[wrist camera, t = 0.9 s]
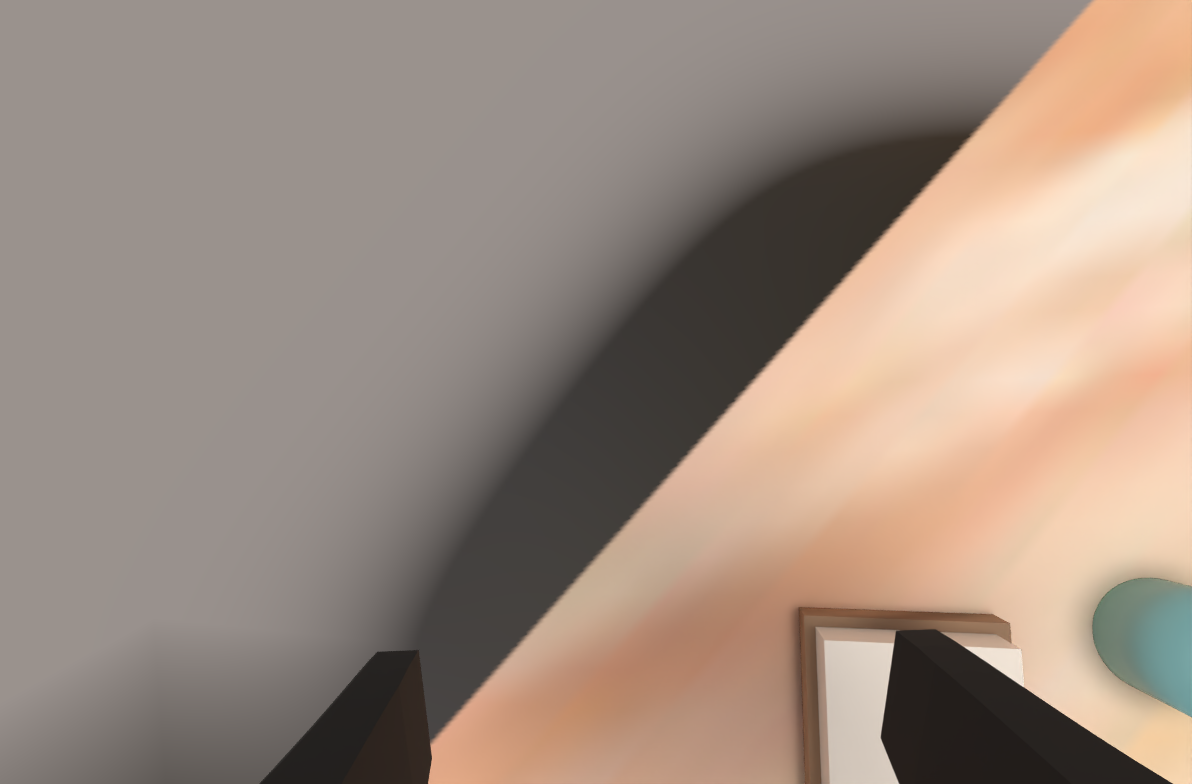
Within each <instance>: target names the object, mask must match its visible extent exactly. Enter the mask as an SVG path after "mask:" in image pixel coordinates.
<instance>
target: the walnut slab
mask: <svg viewBox="0 0 1192 784" xmlns="http://www.w3.org/2000/svg"><path fill="white" fill-rule="evenodd" d="M799 621H800V649H801V678H802V706H803V735H804V763H805V784H821V760H820V734H819V708H818V681H817V655H816V628H815V627H833V628H857V629H881V630H924V629H936V630H938V631H940V632H953V633H977V634H996V635H998V636H1000V637H1001V638H1003V639H1005V640H1006V641H1008V642H1010V643H1011V630H1010V623H1008V622H1006V621H1004V620H1002V619H1000V618H999V617H997V616H995V615H993V614H965V613H938V612H911V611H884V610H857V609H830V608H803V607H799Z"/></svg>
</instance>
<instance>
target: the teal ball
mask: <svg viewBox="0 0 1192 784" xmlns="http://www.w3.org/2000/svg"><path fill="white" fill-rule="evenodd" d="M1092 626H1093V638H1094V643H1095V646H1096V649H1097V651H1098V653H1099V655H1100V657H1101V659H1102V660H1103V662H1104V663H1105V664H1106V666H1107V667H1108V668H1109V669H1110V670H1111V671H1112V672H1113V673H1114V674H1115V675H1116V676H1117V677H1118V678H1120V679H1121V680H1122V681H1124V682H1126V683H1127V684H1129V685H1131V686H1133V687H1135V688H1136V689H1138V690H1140V691H1142V692H1144V693H1146V694H1148V695H1150V696H1152V697H1154V698H1156V699H1158V700H1160V701H1161V702H1163V703H1165V704H1167V705H1169V706H1171V707H1173V708H1175V709H1177V710H1179V711H1181V712H1183V713H1185V714H1186V715H1188V716H1190V717H1192V587H1191V586H1187V585H1183V584H1179V583H1175V582H1171V581H1167V580H1162V579H1157V578H1139V579H1133V580H1130V581H1126V582H1124V583H1122V584H1119V585H1118V586H1116V587H1114V588H1113V589H1112V590H1110V591H1109V592H1108V593H1107V594H1106V595H1105V596H1104V597H1103V598H1102V600H1101V601H1100V603H1099V604H1098V607H1097V609H1096V611H1095V614H1094V618H1093V625H1092Z"/></svg>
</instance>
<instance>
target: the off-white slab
mask: <svg viewBox="0 0 1192 784" xmlns="http://www.w3.org/2000/svg"><path fill="white" fill-rule="evenodd" d="M815 628H816V655H817V681H818V708H819V734H820V760H821V784H899V782H898V780H897V778H896V775H895V773H894V770H893V768H892V765H891V763H890V760H889V758H888V755H887V753H886V750H885V748H884V745H883V743H882V740H881V738H880V737H881V730H882V723H883V716H884V710H885V703H886V696H887V689H888V682H889V675H890V668H891V661H892V654H893V647H894V641H895V634H896V631H900V630H881V629H857V628H833V627H815ZM941 633H943V634H944V635H946V636H948V637H949V638H951V639H953V640H954V641H956V642H957V643H959V644H960V645H962V646H963V647H965V648H966V649H968V650H969V651H971V652H972V653H974V654H975V655H977V656H978V657H980V658H981V659H983V660H984V661H986V662H987V663H989V664H990V665H992V666H993V667H995V668H996V669H997V670H999V671H1000V672H1002V673H1003V674H1005V675H1006V676H1008V677H1009V678H1011V679H1012V680H1014V681H1015V682H1017V683H1018V684H1020V685H1021V686H1022V687H1024V679H1023V666H1022V652H1021V649H1020V648H1018V647H1017V646H1015V645H1013V644H1012V643H1010V642H1008V641H1006V640H1005V639H1003V638H1001V637H1000V636H998V635H996V634H977V633H953V632H941Z"/></svg>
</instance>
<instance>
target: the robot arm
mask: <svg viewBox="0 0 1192 784" xmlns="http://www.w3.org/2000/svg"><path fill="white" fill-rule="evenodd" d="M880 738H881V740H882V743H883V745H884V748H885V750H886V753H887V755H888V758H889V760H890V763H891V765H892V768H893V770H894V773H895V775H896V778H897V780H898V782H899V784H1172V783H1171V782H1169V781H1168V780H1166V779H1164V778H1163V777H1161V776H1159V775H1158V774H1156V773H1154V772H1153V771H1151V770H1150V769H1148V768H1146V767H1145V766H1143V765H1141V764H1140V763H1138V762H1137V761H1135V760H1133V759H1132V758H1130V757H1129V756H1127V755H1125V754H1124V753H1122V752H1121V751H1119V750H1118V749H1116V748H1114V747H1113V746H1111V745H1110V744H1108V743H1107V742H1105V741H1104V740H1102V739H1100V738H1099V737H1097V736H1096V735H1094V734H1093V733H1091V732H1090V731H1088V730H1087V729H1085V728H1084V727H1082V726H1081V725H1079V724H1078V723H1076V722H1075V721H1073V720H1072V719H1070V718H1069V717H1067V716H1065V715H1064V714H1062V713H1061V712H1059V711H1058V710H1056V709H1055V708H1053V707H1052V706H1051V705H1049V704H1048V703H1046V702H1045V701H1043V700H1042V699H1040V698H1039V697H1037V696H1036V695H1034V694H1033V693H1031V692H1030V691H1028V690H1027V689H1025V688H1024V687H1022V686H1021V685H1020V684H1018V683H1017V682H1015V681H1014V680H1012V679H1011V678H1009V677H1008V676H1006V675H1005V674H1003V673H1002V672H1000V671H999V670H997V669H996V668H995V667H993V666H992V665H990V664H989V663H987V662H986V661H984V660H983V659H981V658H980V657H978V656H977V655H975V654H974V653H972V652H971V651H969V650H968V649H966V648H965V647H963V646H962V645H960V644H959V643H957V642H956V641H954V640H953V639H951V638H949V637H948V636H946V635H944V634H943V633H941V632H940V631H938V630H936V629H924V630H900V631H896V634H895V641H894V647H893V654H892V661H891V668H890V675H889V682H888V689H887V696H886V703H885V710H884V716H883V723H882V730H881V737H880ZM431 761H432V755H431V747H430V739H429V732H428V723H427V715H426V707H425V699H424V690H423V682H422V674H421V667H420V658H419V651H418V650H414V651H388V652H377V653H376V654H375V655H374V656H373V657H372V658H371V659H370V660H369V661H368V662H367V663H366V665H365V666H364V667H363V668H362V669H361V670H360V672H359V673H358V674H357V675H356V676H355V677H354V679H353V680H352V681H351V682H350V683H349V684H348V686H347V687H346V688H345V689H344V690H343V691H342V693H341V694H340V695H339V696H338V697H337V698H336V699H335V701H334V702H333V703H332V704H331V705H330V706H329V708H328V709H327V710H326V711H325V712H324V713H323V714H322V716H321V717H320V718H319V719H318V720H317V721H316V722H315V723H314V725H313V726H312V727H311V728H310V729H309V731H307V732H306V734H305V735H304V736H303V737H302V738H301V739H300V740H299V741H298V742H297V744H296V745H295V746H294V747H293V748H292V749H291V750H290V751H289V752H288V753H287V754H286V755H285V757H284V758H283V759H282V760H281V761H280V762H279V763H278V764H277V765H276V766H275V768H274V769H273V770H272V771H271V772H270V773H269V774H268V775H267V776H266V777H265V778H264V779H263V781H261V783H260V784H428V779H429V773H430V767H431Z"/></svg>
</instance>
